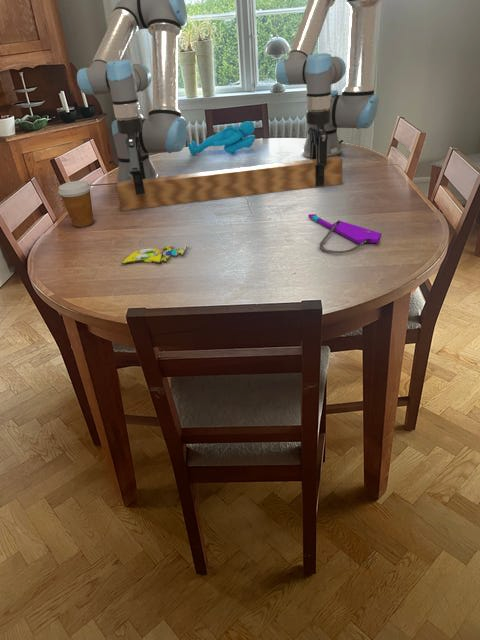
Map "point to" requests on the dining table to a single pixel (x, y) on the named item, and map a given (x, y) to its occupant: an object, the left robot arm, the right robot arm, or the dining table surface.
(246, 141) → the toy
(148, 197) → the beam
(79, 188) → the disposable coffee cup
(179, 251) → the toy
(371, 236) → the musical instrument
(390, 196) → the dining table surface
